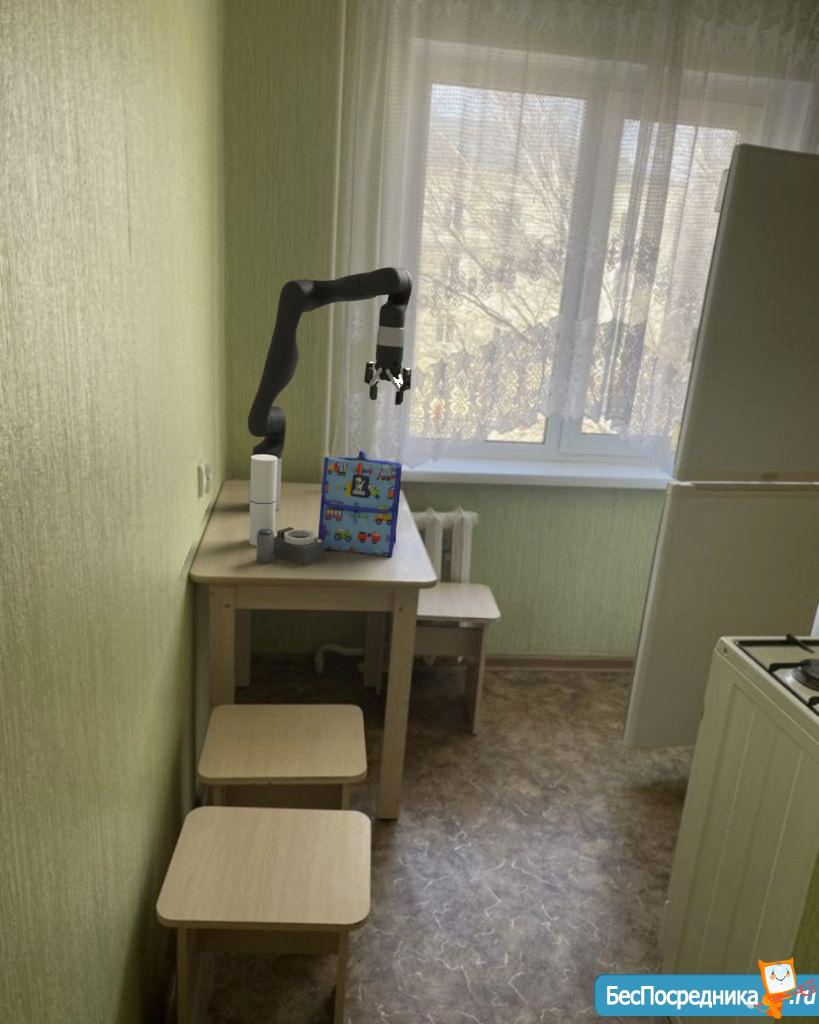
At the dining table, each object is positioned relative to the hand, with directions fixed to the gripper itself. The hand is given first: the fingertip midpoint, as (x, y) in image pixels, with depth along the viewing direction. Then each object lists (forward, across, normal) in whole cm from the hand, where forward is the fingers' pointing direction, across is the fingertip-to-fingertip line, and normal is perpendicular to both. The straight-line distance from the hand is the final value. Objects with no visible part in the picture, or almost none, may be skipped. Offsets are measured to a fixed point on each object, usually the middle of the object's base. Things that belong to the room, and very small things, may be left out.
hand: (385, 402), depth 214 cm
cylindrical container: (+42, -23, -24) cm, 54 cm away
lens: (+42, -12, -34) cm, 55 cm away
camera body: (+42, -8, -25) cm, 50 cm away
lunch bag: (+42, -2, -6) cm, 43 cm away
